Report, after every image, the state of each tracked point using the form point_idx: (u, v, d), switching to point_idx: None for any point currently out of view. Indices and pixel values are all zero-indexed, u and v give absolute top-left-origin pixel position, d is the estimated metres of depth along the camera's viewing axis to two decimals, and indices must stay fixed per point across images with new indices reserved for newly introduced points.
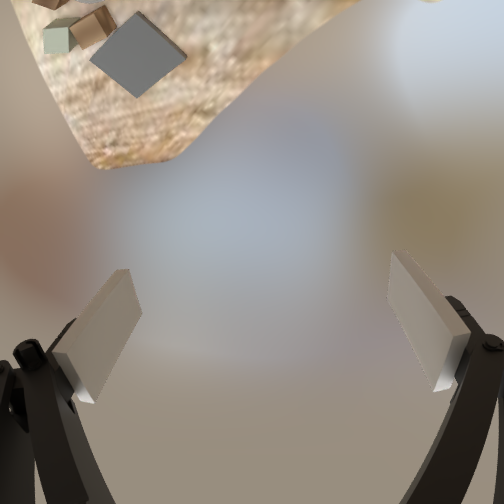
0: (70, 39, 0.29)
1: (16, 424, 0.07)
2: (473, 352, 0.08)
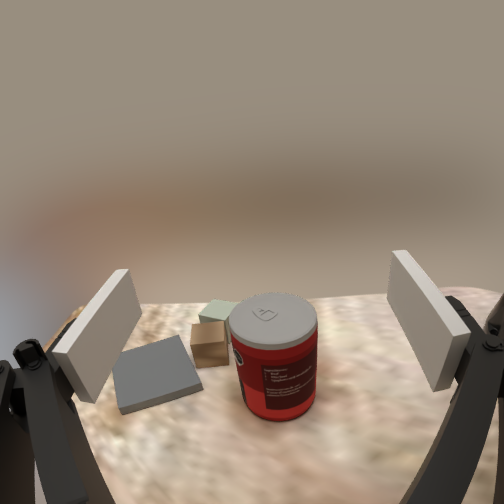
0: (211, 320, 0.41)
1: (16, 424, 0.07)
2: (473, 352, 0.08)
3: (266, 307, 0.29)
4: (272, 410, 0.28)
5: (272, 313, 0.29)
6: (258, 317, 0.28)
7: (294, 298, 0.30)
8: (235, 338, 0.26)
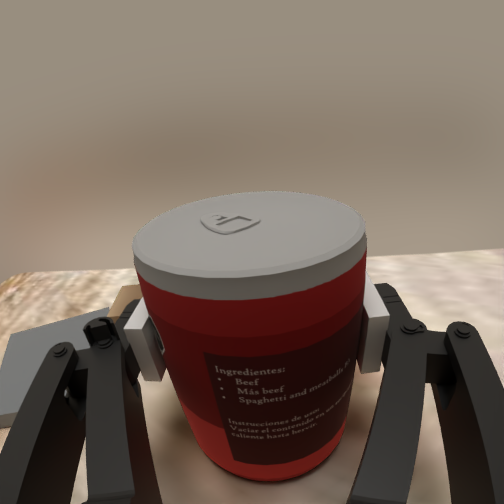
0: None
1: (69, 412, 0.08)
2: (392, 338, 0.09)
3: (235, 214, 0.12)
4: (249, 465, 0.11)
5: (247, 221, 0.11)
6: (210, 228, 0.11)
7: (301, 197, 0.13)
8: (137, 273, 0.09)
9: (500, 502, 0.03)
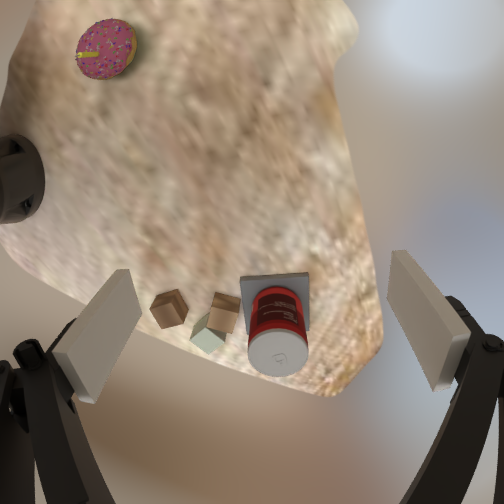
0: (216, 333, 0.49)
1: (16, 424, 0.07)
2: (473, 352, 0.08)
3: (276, 364, 0.40)
4: (292, 296, 0.45)
5: (275, 358, 0.39)
6: (285, 359, 0.39)
7: (254, 363, 0.39)
8: None
9: None
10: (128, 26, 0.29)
